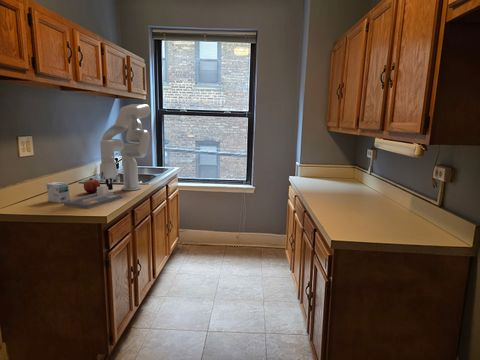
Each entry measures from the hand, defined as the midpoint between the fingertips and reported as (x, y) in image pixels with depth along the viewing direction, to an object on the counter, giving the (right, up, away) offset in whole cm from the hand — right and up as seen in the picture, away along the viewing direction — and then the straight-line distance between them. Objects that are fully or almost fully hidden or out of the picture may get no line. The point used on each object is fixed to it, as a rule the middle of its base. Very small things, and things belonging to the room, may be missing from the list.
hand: (109, 189), depth 200 cm
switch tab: (-2, -3, -5) cm, 6 cm away
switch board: (-5, -7, -11) cm, 14 cm away
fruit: (-16, -3, +12) cm, 20 cm away
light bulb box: (-26, -7, -10) cm, 29 cm away
